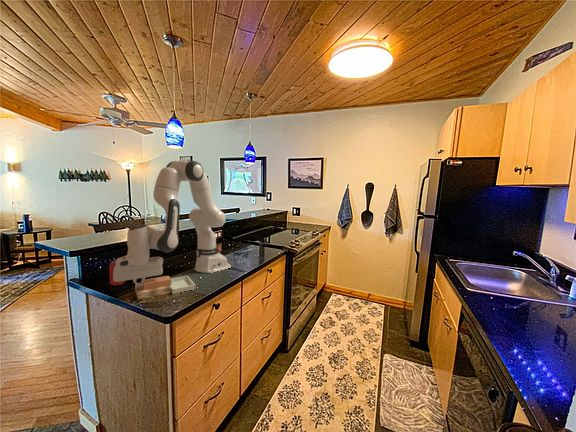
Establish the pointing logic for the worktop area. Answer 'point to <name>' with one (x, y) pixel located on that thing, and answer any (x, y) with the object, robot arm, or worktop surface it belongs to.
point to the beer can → (111, 269)
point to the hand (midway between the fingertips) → (139, 286)
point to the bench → (151, 292)
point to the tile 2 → (164, 281)
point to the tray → (181, 284)
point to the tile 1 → (150, 284)
